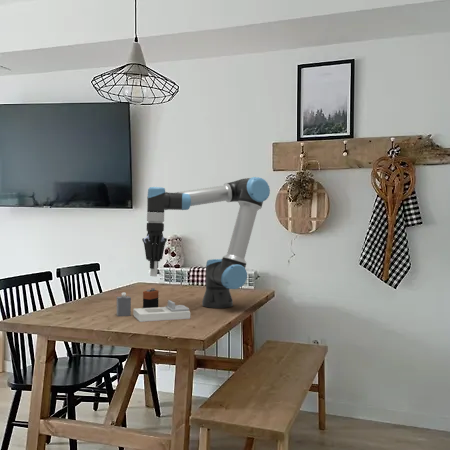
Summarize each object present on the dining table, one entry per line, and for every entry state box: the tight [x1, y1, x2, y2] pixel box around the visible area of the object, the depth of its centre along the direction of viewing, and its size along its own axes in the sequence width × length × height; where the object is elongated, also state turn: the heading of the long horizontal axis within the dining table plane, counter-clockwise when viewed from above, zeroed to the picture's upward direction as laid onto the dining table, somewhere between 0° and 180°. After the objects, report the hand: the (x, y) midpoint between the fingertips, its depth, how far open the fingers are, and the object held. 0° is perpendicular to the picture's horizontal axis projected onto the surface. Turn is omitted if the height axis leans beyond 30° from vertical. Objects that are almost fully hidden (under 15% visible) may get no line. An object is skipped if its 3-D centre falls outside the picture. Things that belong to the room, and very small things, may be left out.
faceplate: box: [132, 306, 191, 323], centre depth 226 cm, size 22×14×3 cm, turn 111°
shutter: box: [165, 299, 190, 311], centre depth 229 cm, size 8×10×3 cm
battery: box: [142, 287, 159, 308], centre depth 242 cm, size 4×7×10 cm, turn 151°
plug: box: [116, 292, 132, 317], centre depth 229 cm, size 6×4×10 cm
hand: (153, 276), depth 227 cm, fingers closed
